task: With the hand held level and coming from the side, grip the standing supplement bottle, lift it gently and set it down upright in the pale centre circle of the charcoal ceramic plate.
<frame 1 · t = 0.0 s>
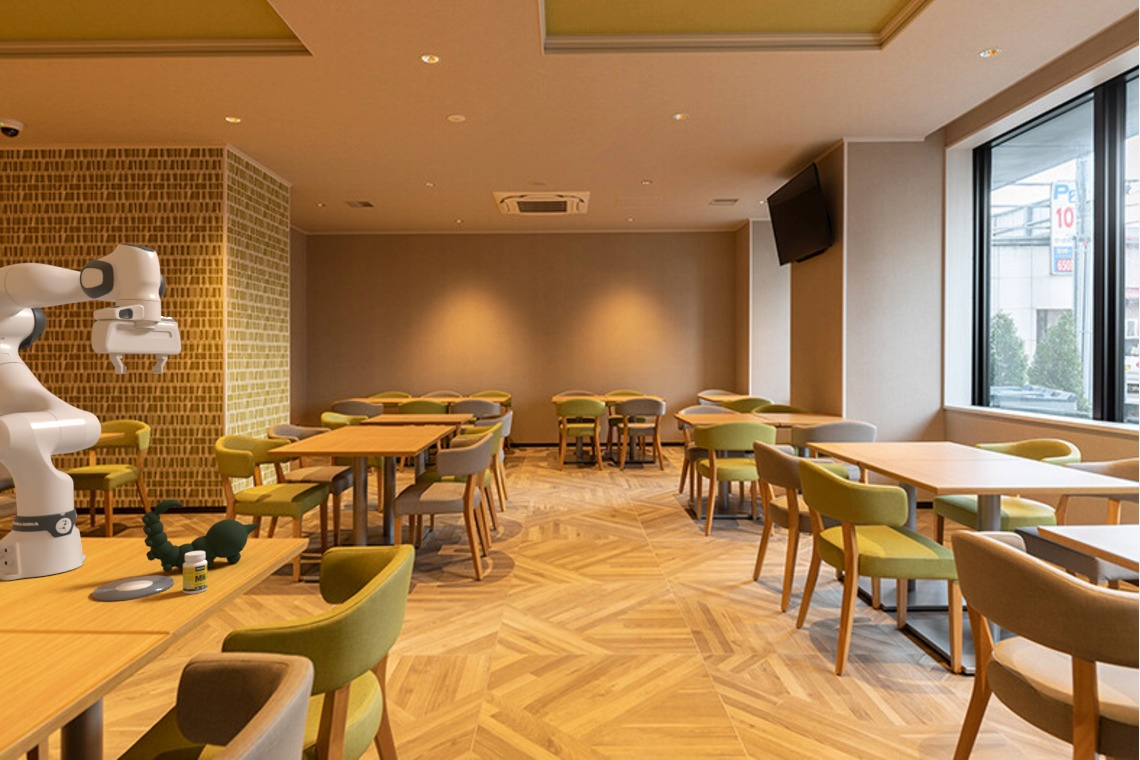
hand: (139, 373, 155), 48 cm above the table, tool pointing down, fingers open, 8 cm apart
charcoal plate: (134, 589, 149), on the table
toy figurine: (204, 568, 165), on the table
supplement bottle: (195, 591, 147), on the table
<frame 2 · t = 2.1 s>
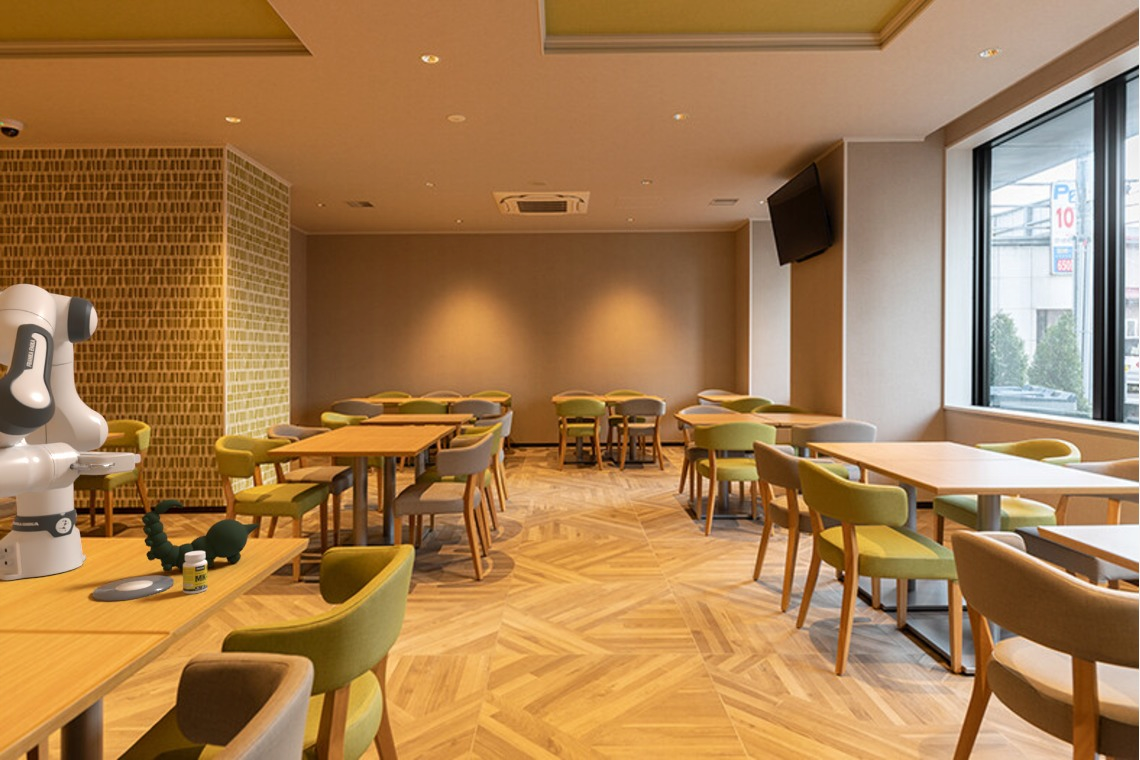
hand: (120, 457, 140), 30 cm above the table, tool horizontal, fingers open, 8 cm apart
nothing on the table moved.
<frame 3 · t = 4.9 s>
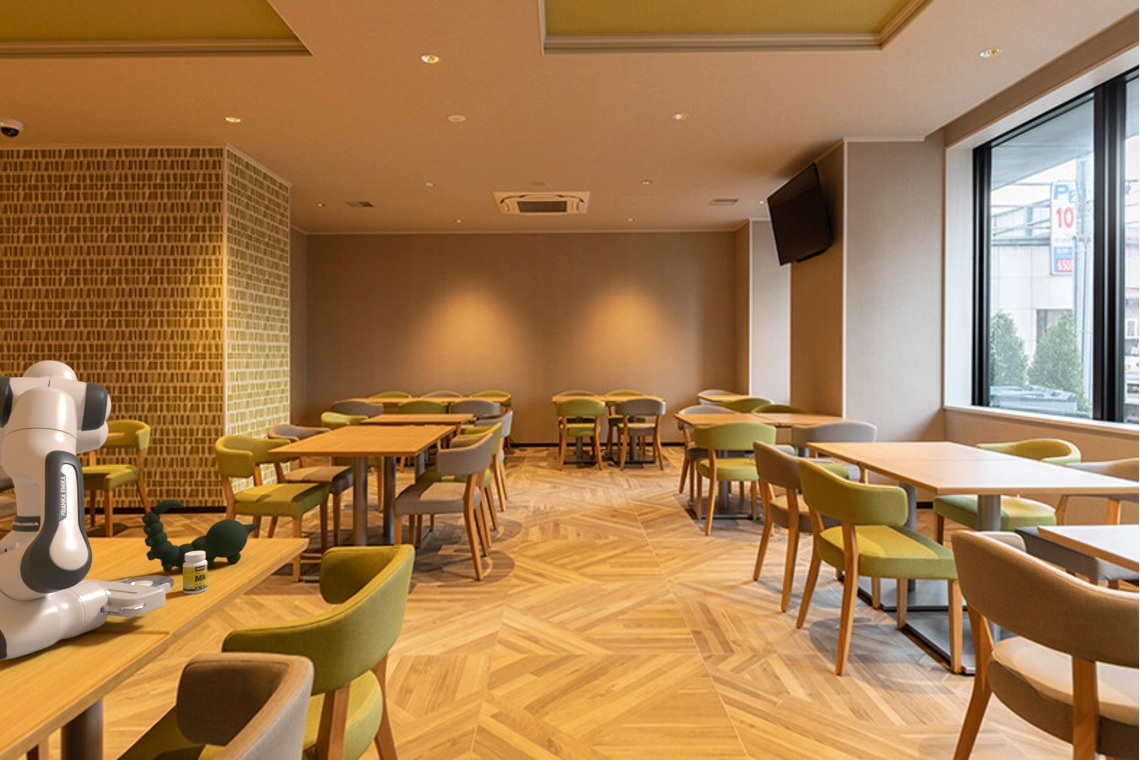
hand: (149, 584, 137), 5 cm above the table, tool horizontal, fingers open, 8 cm apart
nothing on the table moved.
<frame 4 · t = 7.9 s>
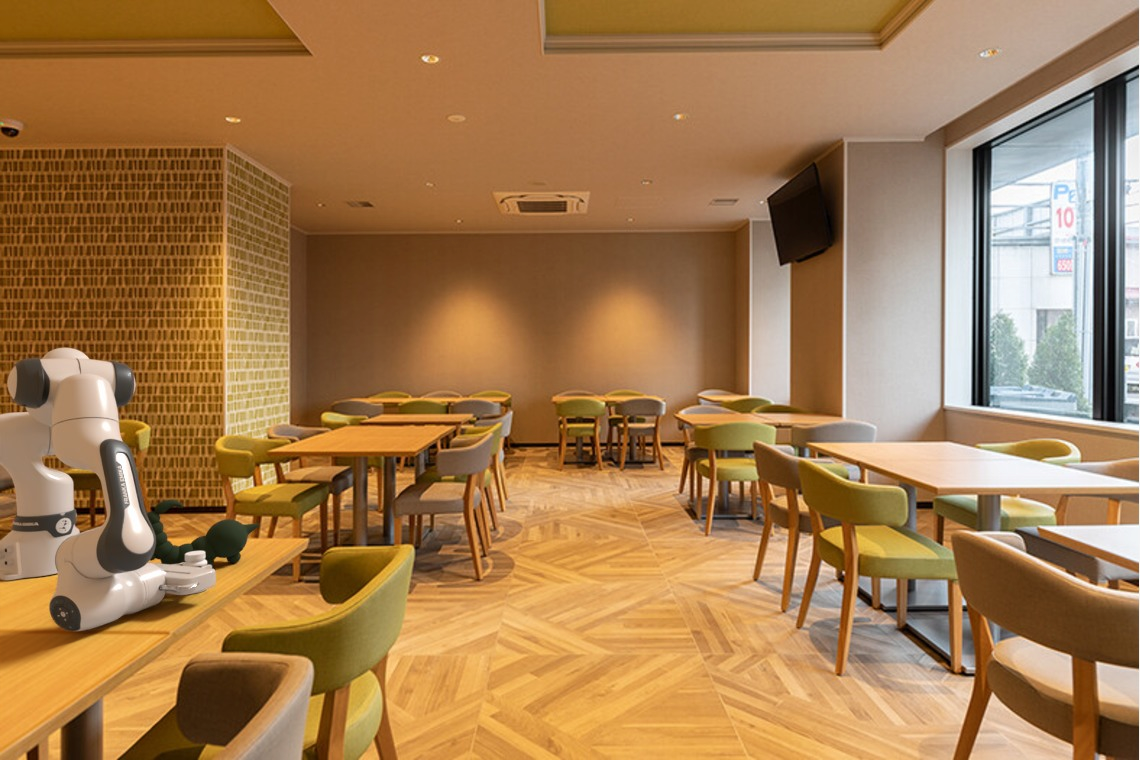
hand: (198, 566, 148), 5 cm above the table, tool horizontal, fingers closed on supplement bottle, 5 cm apart
supplement bottle: (195, 591, 147), on the table, touching gripper
everything else where it was.
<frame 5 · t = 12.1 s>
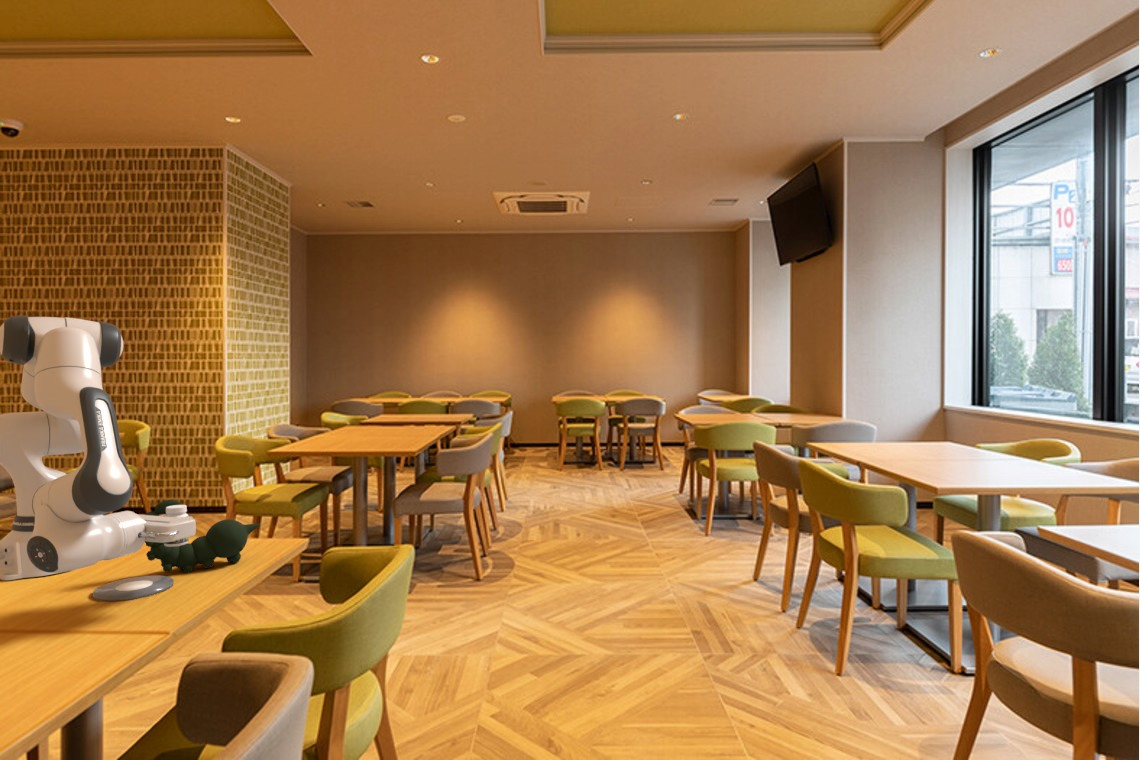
hand: (179, 519, 149), 16 cm above the table, tool horizontal, fingers closed on supplement bottle, 5 cm apart
supplement bottle: (176, 545, 148), point 10 cm above the table, touching gripper
everything else where it was.
when the fingers open (7 cm above the table, at t = 16.1 s): supplement bottle stays where it is, resting on charcoal plate.
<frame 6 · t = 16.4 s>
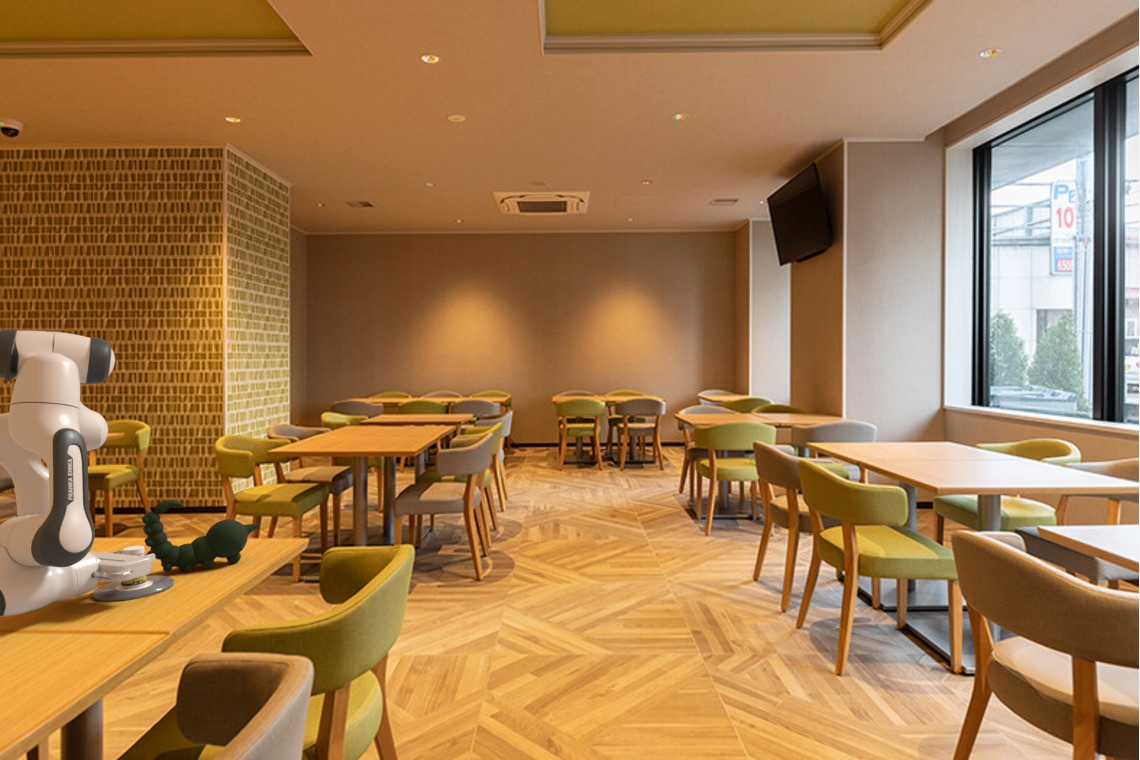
hand: (137, 555, 149), 7 cm above the table, tool horizontal, fingers open, 8 cm apart
supplement bottle: (133, 586, 149), point 1 cm above the table, touching charcoal plate
everything else where it was.
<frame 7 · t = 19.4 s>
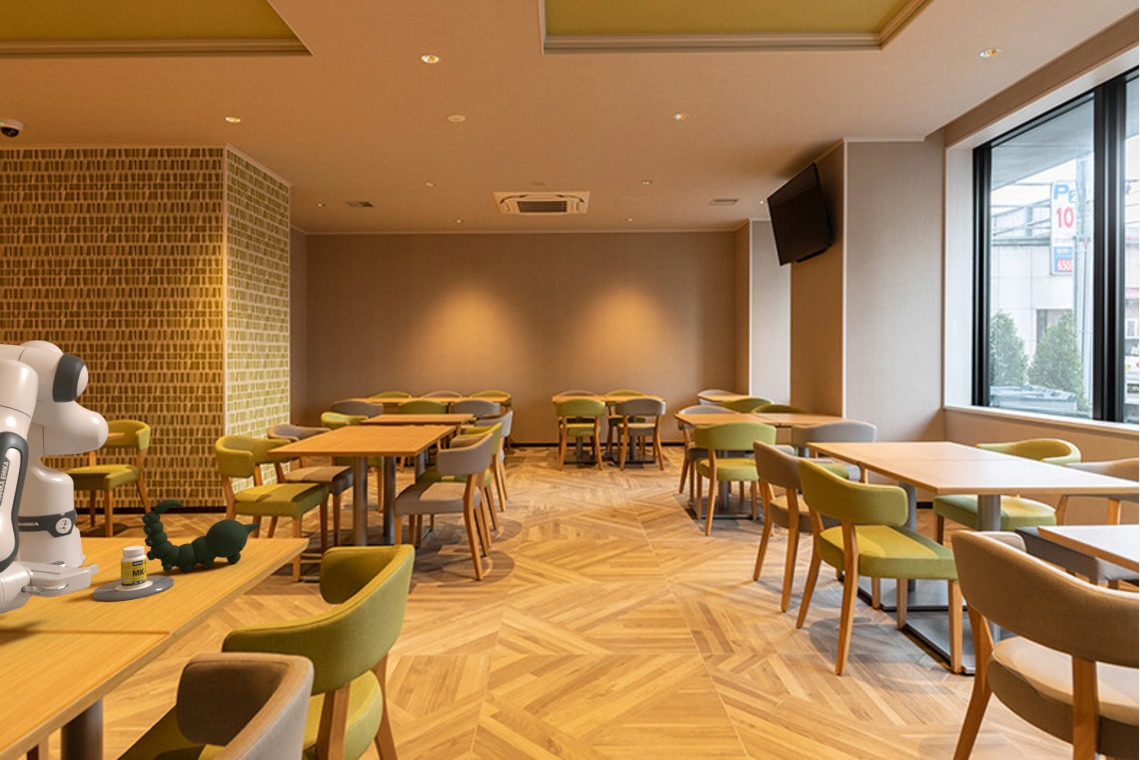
hand: (78, 566, 137), 9 cm above the table, tool horizontal, fingers open, 8 cm apart
nothing on the table moved.
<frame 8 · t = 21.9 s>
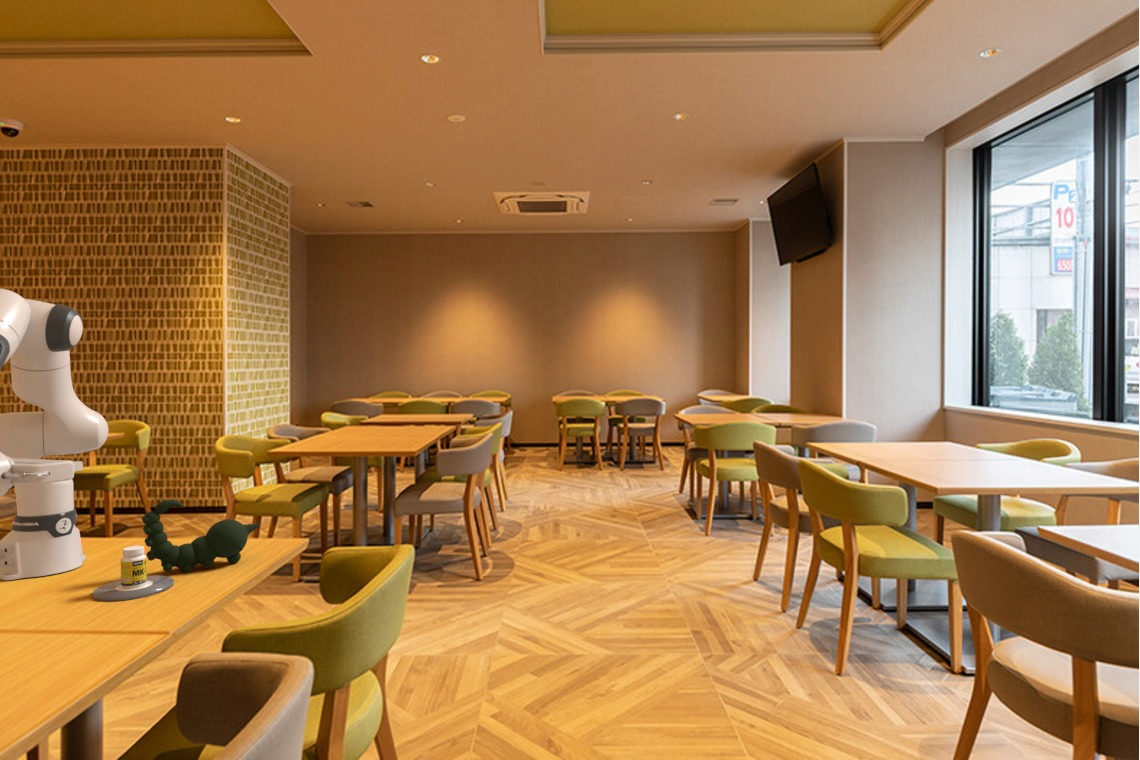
hand: (62, 464, 134), 30 cm above the table, tool horizontal, fingers open, 8 cm apart
nothing on the table moved.
at the end: supplement bottle 0.1 cm off-centre on the charcoal plate, point 0.7 cm above the charcoal plate's base; supplement bottle tilted 0°; the gripper is holding nothing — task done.
